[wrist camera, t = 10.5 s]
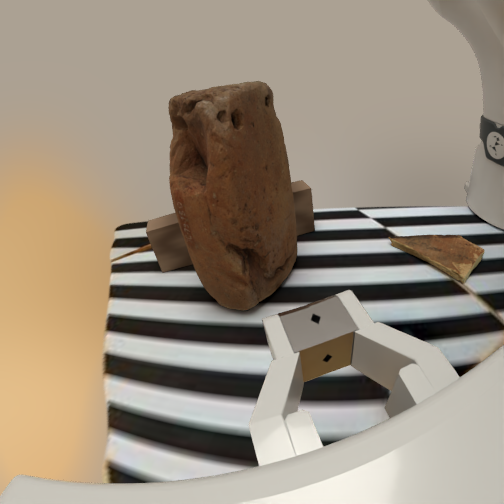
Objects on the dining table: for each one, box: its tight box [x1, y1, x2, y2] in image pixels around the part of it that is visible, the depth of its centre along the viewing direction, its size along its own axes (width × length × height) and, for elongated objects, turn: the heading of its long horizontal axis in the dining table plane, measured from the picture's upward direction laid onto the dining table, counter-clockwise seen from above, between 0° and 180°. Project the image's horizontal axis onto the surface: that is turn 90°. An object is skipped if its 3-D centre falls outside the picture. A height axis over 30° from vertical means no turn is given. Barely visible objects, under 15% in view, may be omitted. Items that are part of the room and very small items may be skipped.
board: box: [146, 180, 315, 272], centre depth 37 cm, size 20×3×6 cm, turn 103°
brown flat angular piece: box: [389, 235, 484, 283], centre depth 30 cm, size 11×8×2 cm
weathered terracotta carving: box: [169, 81, 297, 310], centre depth 27 cm, size 11×8×20 cm
